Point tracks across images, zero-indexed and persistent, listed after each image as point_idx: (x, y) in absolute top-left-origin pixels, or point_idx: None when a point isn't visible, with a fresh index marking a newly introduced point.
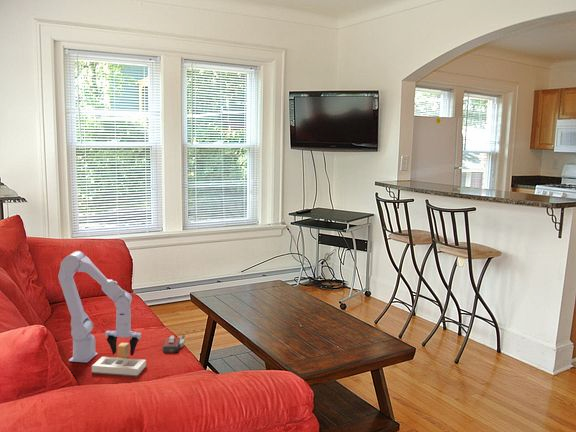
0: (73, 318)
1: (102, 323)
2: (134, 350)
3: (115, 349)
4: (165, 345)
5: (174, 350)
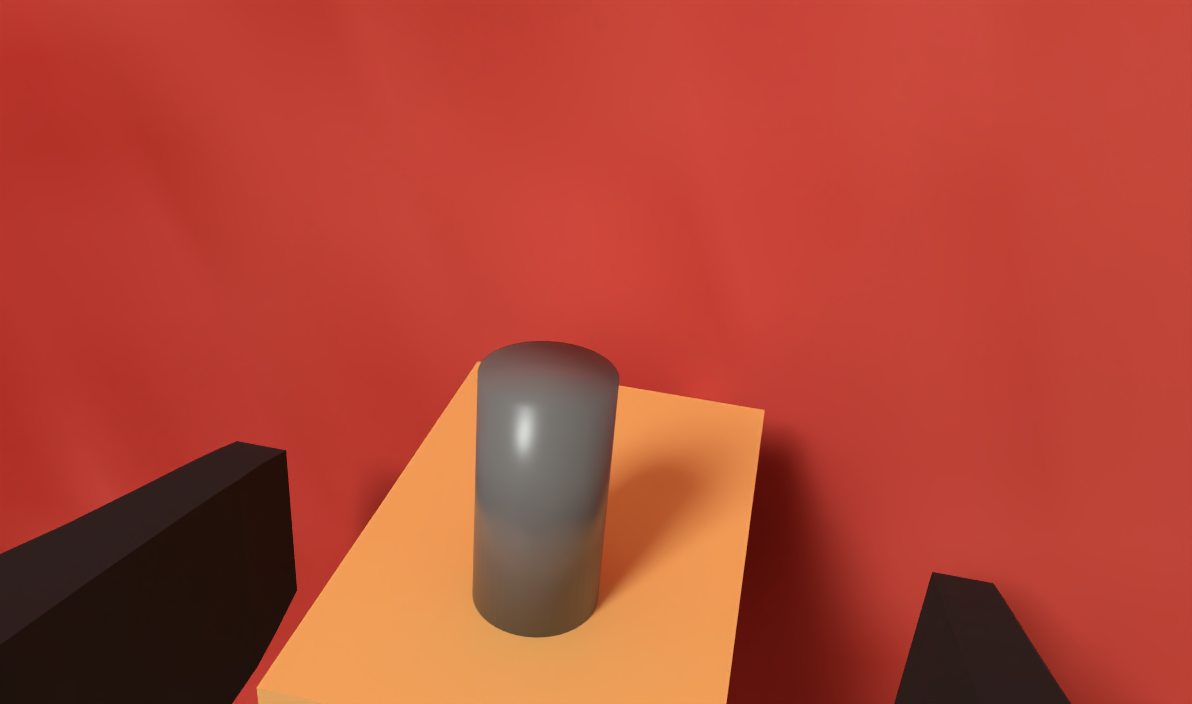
0: None
1: None
2: (1044, 692)
3: (216, 573)
4: None
5: None
